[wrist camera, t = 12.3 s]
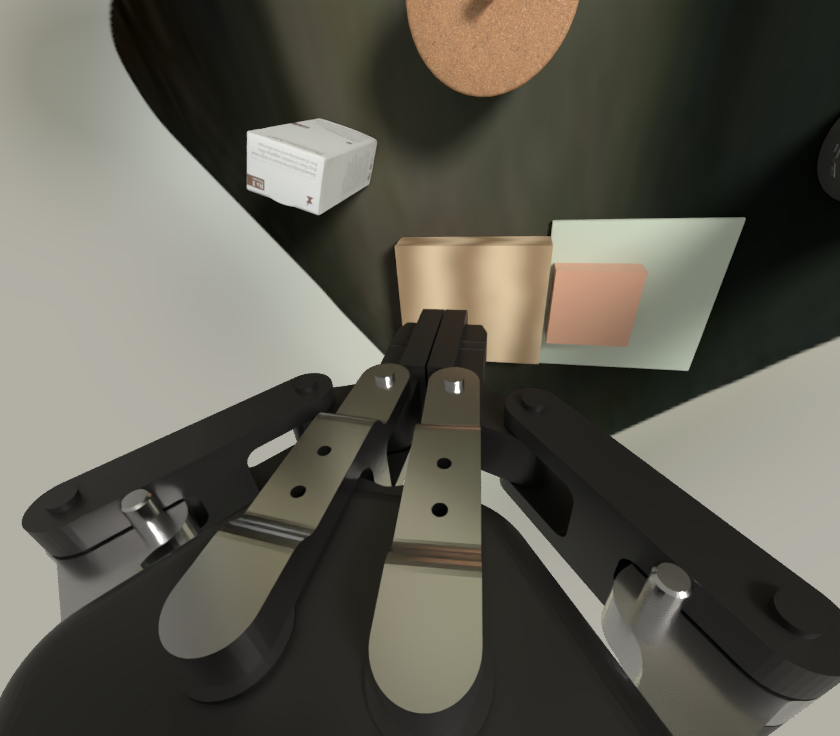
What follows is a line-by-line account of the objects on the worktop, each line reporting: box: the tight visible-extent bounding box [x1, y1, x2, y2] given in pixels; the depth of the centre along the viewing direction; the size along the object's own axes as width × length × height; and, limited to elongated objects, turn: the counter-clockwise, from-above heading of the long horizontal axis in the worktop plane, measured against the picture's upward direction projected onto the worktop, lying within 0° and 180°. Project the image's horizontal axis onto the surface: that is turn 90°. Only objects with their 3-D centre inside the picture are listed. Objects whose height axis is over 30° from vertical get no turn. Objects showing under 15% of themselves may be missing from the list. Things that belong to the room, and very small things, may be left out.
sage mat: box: [539, 217, 746, 371], centre depth 41 cm, size 16×16×1 cm
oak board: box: [395, 236, 553, 364], centre depth 43 cm, size 15×13×3 cm
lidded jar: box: [406, 0, 579, 97], centre depth 27 cm, size 11×11×9 cm
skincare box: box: [247, 119, 377, 215], centre depth 33 cm, size 6×4×12 cm
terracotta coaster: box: [545, 263, 647, 347], centre depth 40 cm, size 8×8×2 cm
